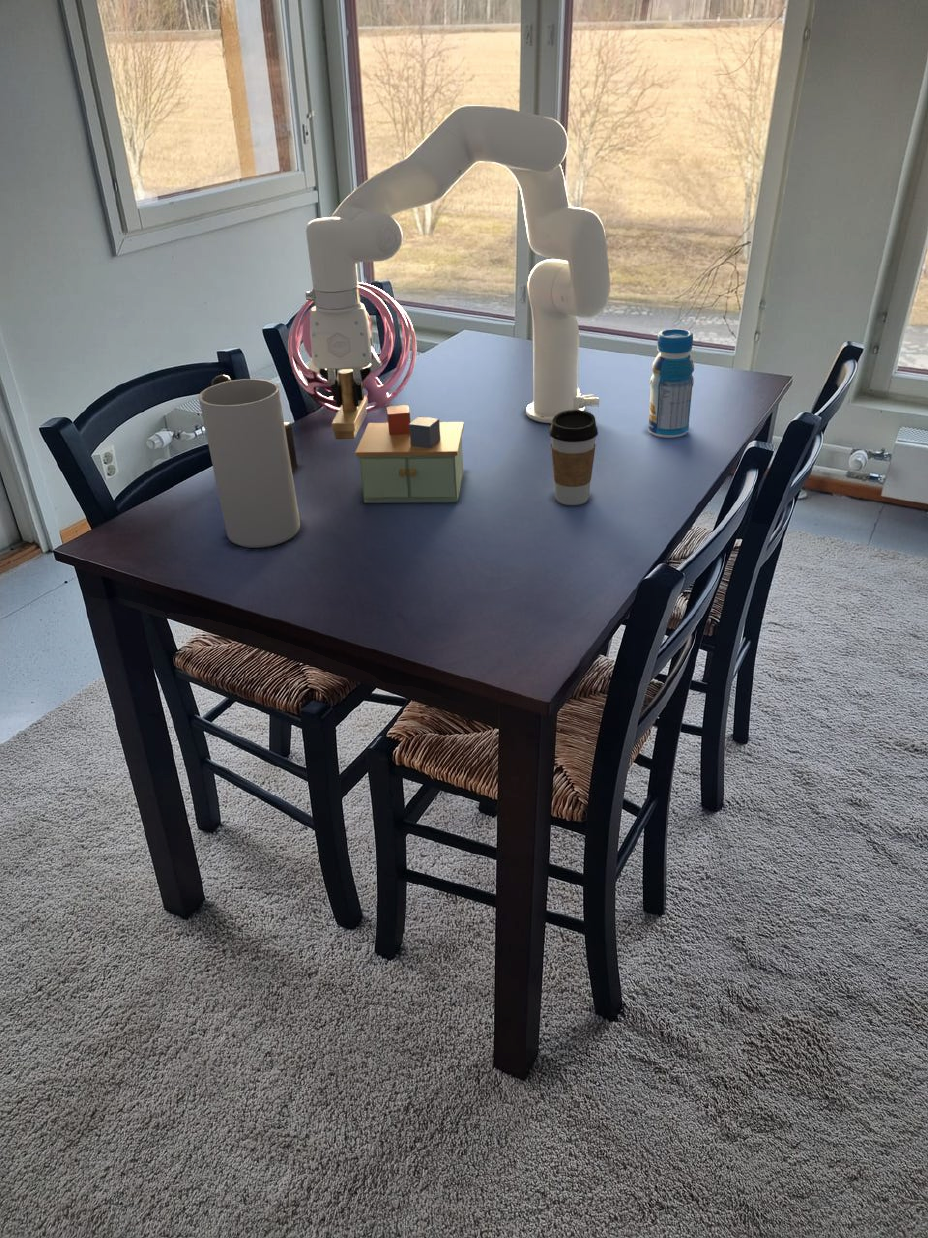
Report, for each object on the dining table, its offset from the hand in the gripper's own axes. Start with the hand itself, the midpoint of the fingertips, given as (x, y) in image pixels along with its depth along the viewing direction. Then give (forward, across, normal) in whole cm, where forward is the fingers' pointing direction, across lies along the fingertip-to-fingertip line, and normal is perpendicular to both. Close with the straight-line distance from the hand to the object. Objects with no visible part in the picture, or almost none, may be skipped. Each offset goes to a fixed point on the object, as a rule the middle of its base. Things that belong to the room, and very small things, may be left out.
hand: (349, 403), depth 166 cm
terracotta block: (+6, +8, +3) cm, 11 cm away
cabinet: (+16, +11, 0) cm, 20 cm away
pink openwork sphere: (+17, -8, +42) cm, 46 cm away
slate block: (+6, +14, -3) cm, 15 cm away
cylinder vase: (+17, -13, -18) cm, 28 cm away
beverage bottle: (+16, +60, +26) cm, 67 cm away
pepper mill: (+17, -22, +7) cm, 29 cm away
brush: (+4, 0, 0) cm, 4 cm away
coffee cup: (+17, +40, -5) cm, 43 cm away
